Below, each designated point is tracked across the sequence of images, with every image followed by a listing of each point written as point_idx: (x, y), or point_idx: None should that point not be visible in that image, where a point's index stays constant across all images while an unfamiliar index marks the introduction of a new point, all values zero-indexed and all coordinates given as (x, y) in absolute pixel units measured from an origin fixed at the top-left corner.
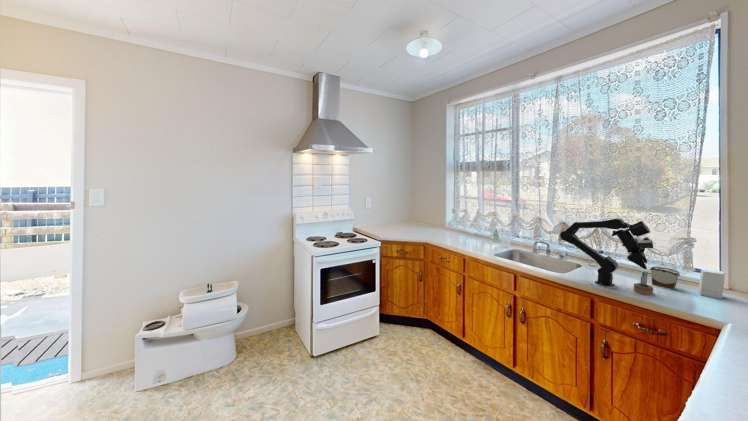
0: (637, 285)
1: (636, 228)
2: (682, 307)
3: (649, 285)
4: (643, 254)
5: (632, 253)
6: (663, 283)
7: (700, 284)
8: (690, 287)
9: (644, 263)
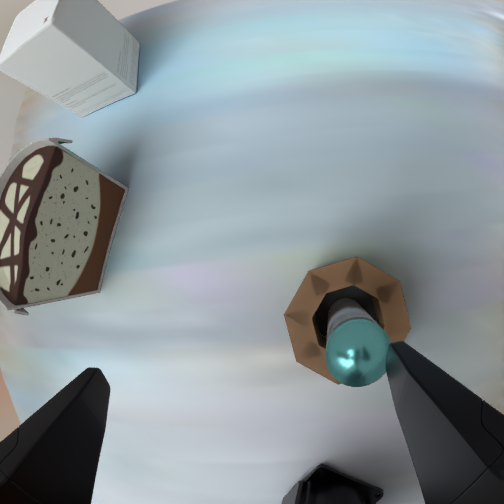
0: None
1: None
2: (476, 114)
3: (304, 288)
4: (26, 471)
5: None
6: (96, 235)
7: (82, 83)
8: None
9: (479, 397)
